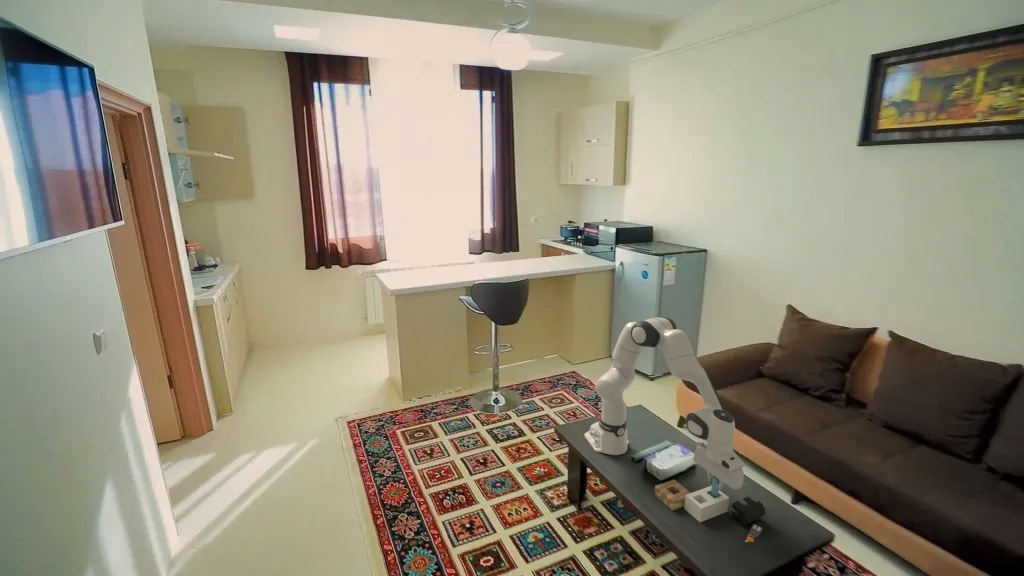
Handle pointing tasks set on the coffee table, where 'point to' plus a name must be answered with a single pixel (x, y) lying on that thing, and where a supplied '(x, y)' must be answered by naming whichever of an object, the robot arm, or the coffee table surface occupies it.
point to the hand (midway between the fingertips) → (715, 485)
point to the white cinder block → (705, 504)
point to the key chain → (754, 532)
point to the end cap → (747, 511)
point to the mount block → (671, 494)
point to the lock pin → (715, 487)
